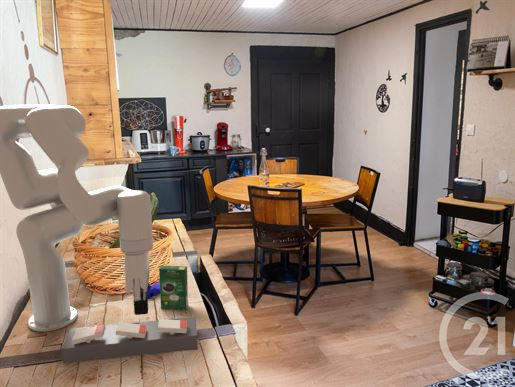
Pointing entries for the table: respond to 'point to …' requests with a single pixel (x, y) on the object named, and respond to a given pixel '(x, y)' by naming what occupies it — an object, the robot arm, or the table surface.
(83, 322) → the table surface
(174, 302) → the coffee box
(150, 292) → the blue piece
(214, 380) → the table surface
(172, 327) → the rocker
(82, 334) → the rocker
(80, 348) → the rocker switch panel
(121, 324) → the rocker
